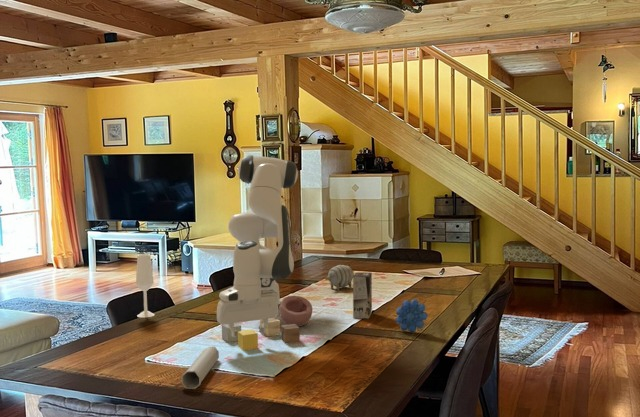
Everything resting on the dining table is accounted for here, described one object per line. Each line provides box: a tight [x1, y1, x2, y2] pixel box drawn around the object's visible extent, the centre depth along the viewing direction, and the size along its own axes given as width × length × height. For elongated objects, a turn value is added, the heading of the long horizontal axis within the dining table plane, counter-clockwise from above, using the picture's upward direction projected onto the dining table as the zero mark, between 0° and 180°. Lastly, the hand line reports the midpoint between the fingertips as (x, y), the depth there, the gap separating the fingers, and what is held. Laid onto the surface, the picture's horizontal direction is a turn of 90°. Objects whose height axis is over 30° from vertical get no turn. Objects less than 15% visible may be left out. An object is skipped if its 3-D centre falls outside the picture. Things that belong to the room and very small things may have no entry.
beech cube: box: [259, 318, 281, 338], centre depth 221 cm, size 5×5×5 cm
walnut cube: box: [280, 324, 301, 345], centre depth 212 cm, size 5×5×5 cm
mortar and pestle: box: [278, 295, 313, 327], centre depth 230 cm, size 12×12×11 cm
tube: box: [180, 346, 220, 390], centre depth 182 cm, size 5×5×25 cm
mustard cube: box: [237, 329, 259, 351], centre depth 206 cm, size 5×5×5 cm
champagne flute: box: [135, 253, 155, 318], centre depth 248 cm, size 7×7×24 cm
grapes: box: [395, 298, 429, 334], centre depth 221 cm, size 12×7×12 cm, turn 62°
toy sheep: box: [324, 264, 355, 291], centre depth 294 cm, size 11×17×11 cm, turn 134°
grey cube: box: [221, 323, 242, 343], centre depth 215 cm, size 5×5×5 cm
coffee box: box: [352, 272, 373, 319], centre depth 244 cm, size 9×6×16 cm
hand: (248, 334), depth 205 cm, fingers open, 8 cm apart
